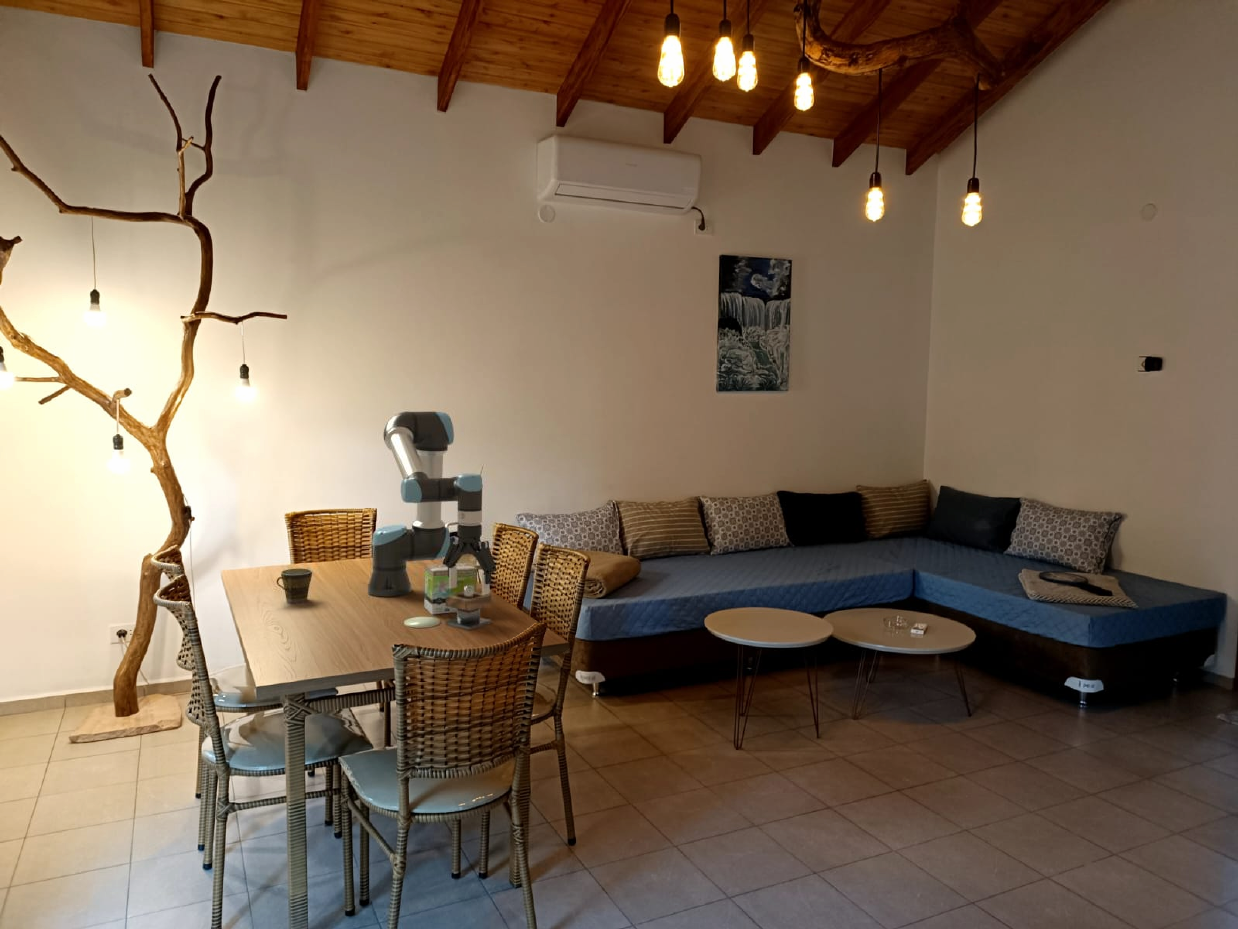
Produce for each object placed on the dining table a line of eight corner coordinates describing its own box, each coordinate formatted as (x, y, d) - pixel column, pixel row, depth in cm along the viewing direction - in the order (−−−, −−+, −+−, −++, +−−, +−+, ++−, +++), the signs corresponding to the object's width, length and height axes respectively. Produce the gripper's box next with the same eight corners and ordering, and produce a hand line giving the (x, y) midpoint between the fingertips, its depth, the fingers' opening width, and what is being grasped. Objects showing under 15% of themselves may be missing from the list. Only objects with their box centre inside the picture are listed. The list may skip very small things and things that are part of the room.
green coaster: (396, 623, 269) (396, 622, 269) (422, 616, 278) (422, 614, 278) (422, 630, 263) (422, 628, 263) (447, 622, 273) (447, 620, 273)
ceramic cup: (298, 595, 300) (298, 567, 299) (318, 599, 295) (318, 570, 294) (267, 603, 288) (266, 573, 287) (287, 607, 283) (287, 578, 282)
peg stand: (445, 624, 270) (445, 587, 269) (467, 617, 278) (467, 581, 277) (469, 630, 265) (470, 592, 263) (490, 623, 273) (491, 585, 272)
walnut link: (445, 605, 269) (445, 596, 269) (467, 599, 278) (467, 590, 277) (469, 611, 264) (469, 601, 264) (491, 604, 272) (491, 595, 272)
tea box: (432, 615, 280) (432, 570, 278) (424, 608, 288) (424, 564, 287) (476, 611, 286) (477, 567, 285) (467, 603, 295) (468, 561, 294)
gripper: (431, 521, 272) (431, 587, 273) (492, 529, 259) (491, 599, 260) (448, 518, 278) (447, 583, 280) (508, 526, 265) (507, 594, 267)
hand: (469, 591), depth 270 cm, fingers open, 13 cm apart
